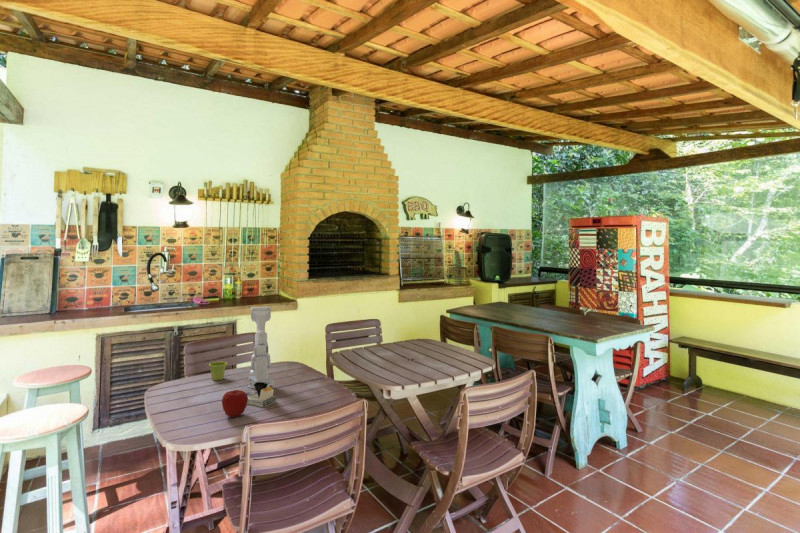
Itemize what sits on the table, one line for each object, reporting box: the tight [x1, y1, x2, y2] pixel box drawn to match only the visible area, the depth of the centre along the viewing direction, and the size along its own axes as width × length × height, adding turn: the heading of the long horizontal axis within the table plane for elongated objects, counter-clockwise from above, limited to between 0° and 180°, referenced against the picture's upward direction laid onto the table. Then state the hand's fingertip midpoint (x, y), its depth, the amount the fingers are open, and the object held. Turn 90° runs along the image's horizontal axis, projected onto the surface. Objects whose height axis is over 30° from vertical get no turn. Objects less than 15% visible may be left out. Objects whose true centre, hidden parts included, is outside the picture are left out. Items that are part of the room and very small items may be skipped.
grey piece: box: [247, 392, 277, 409], centre depth 201 cm, size 15×8×3 cm, turn 66°
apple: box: [221, 389, 249, 418], centre depth 184 cm, size 11×11×12 cm
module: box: [259, 386, 275, 401], centre depth 199 cm, size 4×4×6 cm
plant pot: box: [208, 361, 228, 381], centre depth 236 cm, size 9×9×9 cm
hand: (261, 397), depth 200 cm, fingers closed
